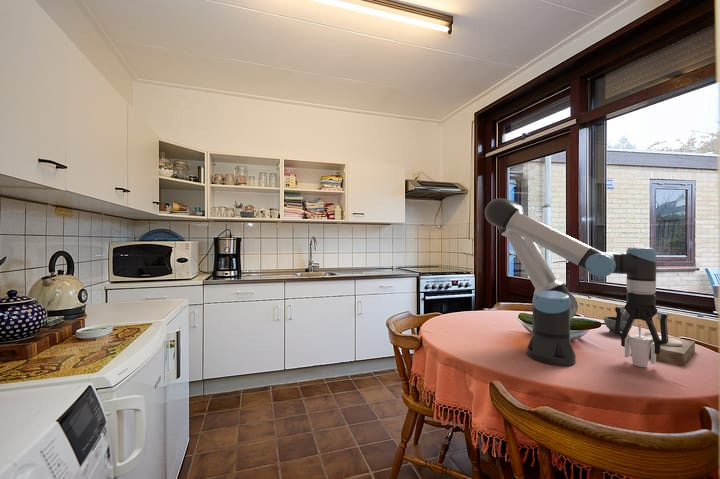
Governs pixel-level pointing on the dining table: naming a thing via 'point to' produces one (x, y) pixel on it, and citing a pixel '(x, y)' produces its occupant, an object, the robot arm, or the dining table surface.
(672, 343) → the base
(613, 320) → the mortar and pestle
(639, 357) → the smoothie
